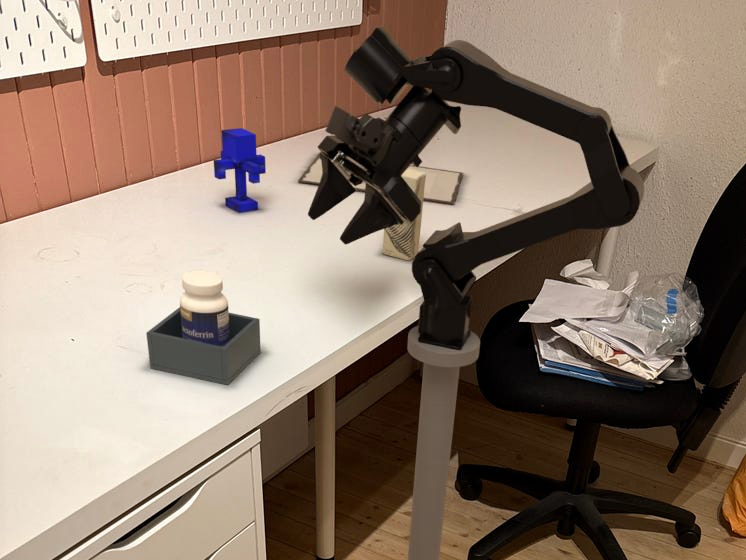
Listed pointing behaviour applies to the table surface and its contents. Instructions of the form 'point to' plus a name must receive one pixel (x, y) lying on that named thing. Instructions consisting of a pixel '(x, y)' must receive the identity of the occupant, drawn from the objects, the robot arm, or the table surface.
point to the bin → (204, 349)
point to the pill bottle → (204, 308)
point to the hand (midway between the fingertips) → (326, 229)
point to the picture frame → (437, 181)
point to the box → (406, 223)
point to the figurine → (240, 166)
